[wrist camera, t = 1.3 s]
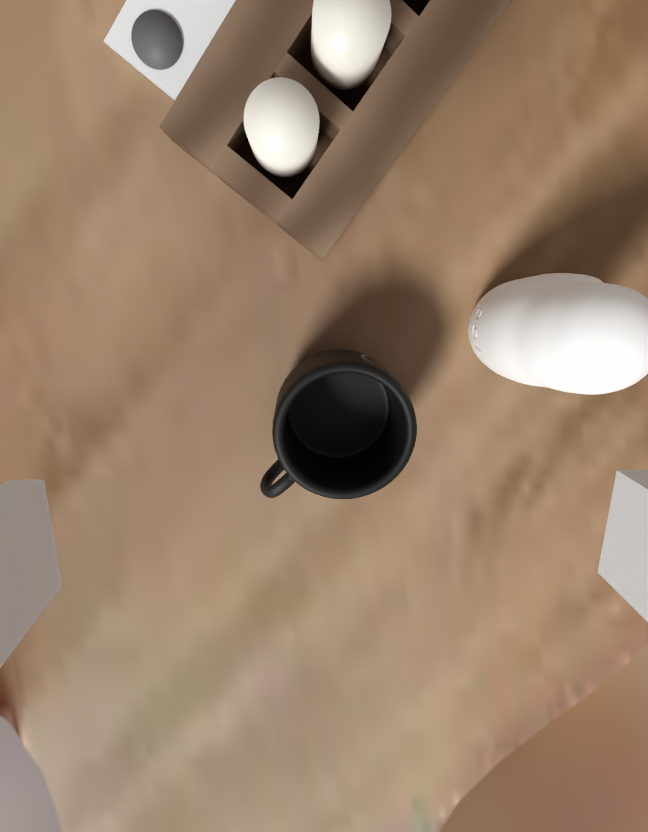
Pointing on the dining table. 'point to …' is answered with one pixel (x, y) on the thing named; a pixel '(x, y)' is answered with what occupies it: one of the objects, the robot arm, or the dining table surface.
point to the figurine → (563, 333)
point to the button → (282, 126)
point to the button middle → (348, 39)
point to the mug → (340, 427)
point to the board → (322, 104)
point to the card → (167, 37)
